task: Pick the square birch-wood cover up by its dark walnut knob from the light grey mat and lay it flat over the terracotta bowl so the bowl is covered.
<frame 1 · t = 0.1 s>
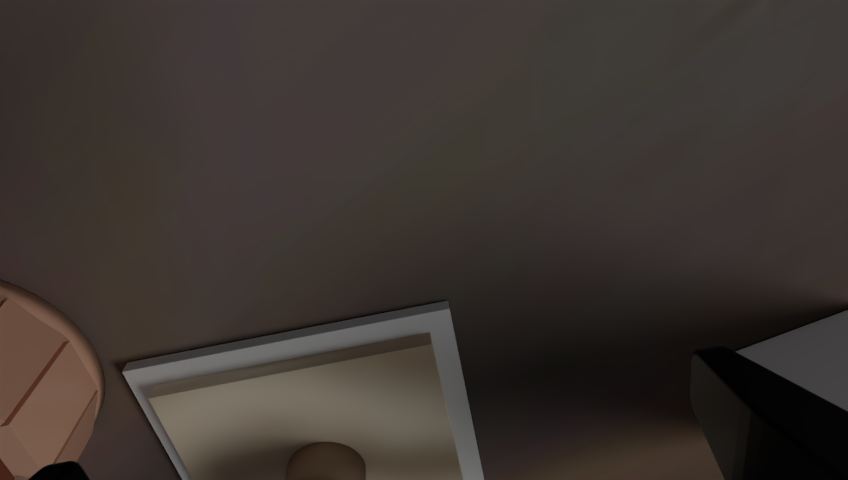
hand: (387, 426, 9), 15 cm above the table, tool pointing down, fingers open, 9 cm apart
mat: (328, 446, 29), on the table
milk: (801, 369, 29), on the table
cover: (327, 456, 28), point 1 cm above the table, touching mat
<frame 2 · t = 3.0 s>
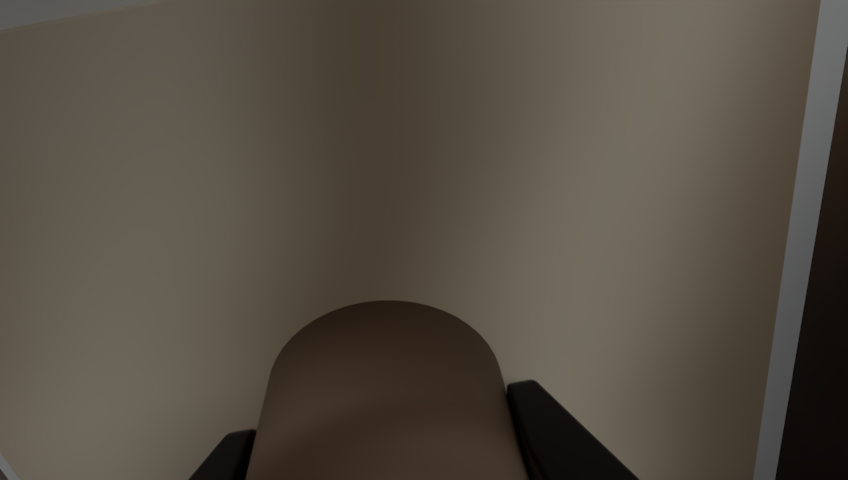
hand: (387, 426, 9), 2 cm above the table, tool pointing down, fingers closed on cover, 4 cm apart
mat: (385, 341, 10), on the table
cover: (386, 363, 10), point 1 cm above the table, touching gripper, mat
when the fingers open (8 cm above the table, at t = 6.4 s): cover drops 2 cm, resting on bowl.
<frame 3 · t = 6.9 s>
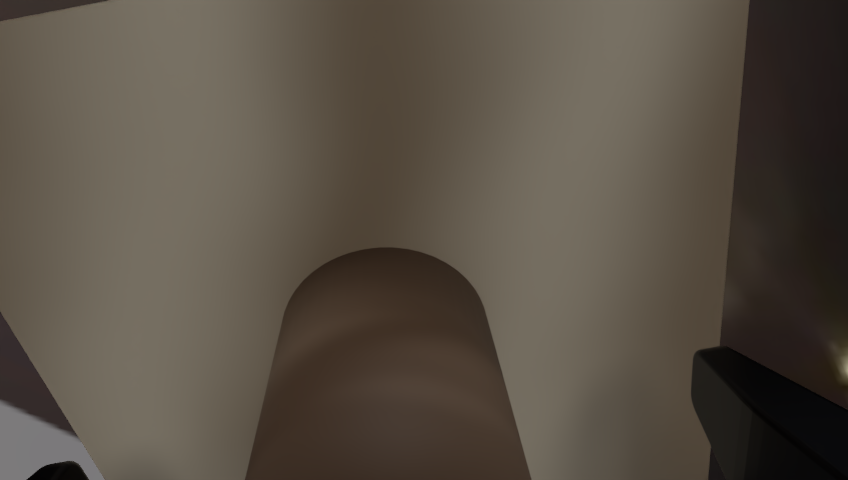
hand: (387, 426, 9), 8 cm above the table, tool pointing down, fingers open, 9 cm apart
cover: (385, 310, 11), point 5 cm above the table, touching bowl
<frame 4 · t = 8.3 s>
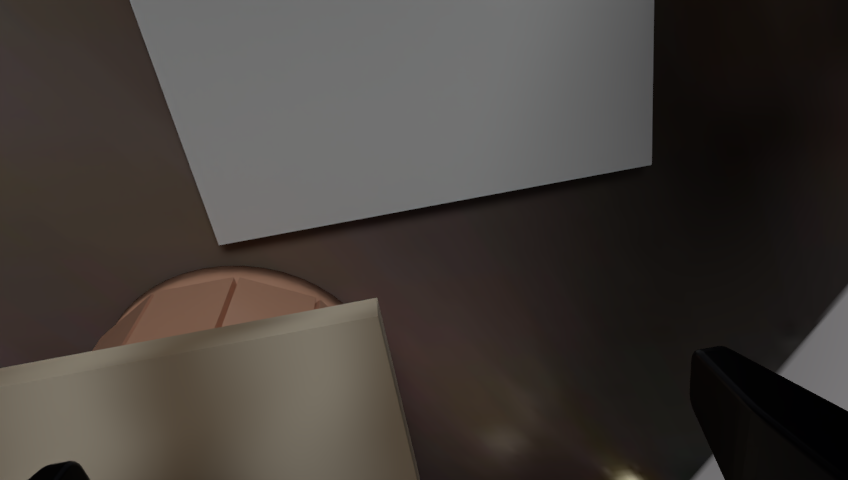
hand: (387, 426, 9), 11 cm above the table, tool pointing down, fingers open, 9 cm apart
bowl: (247, 383, 22), on the table
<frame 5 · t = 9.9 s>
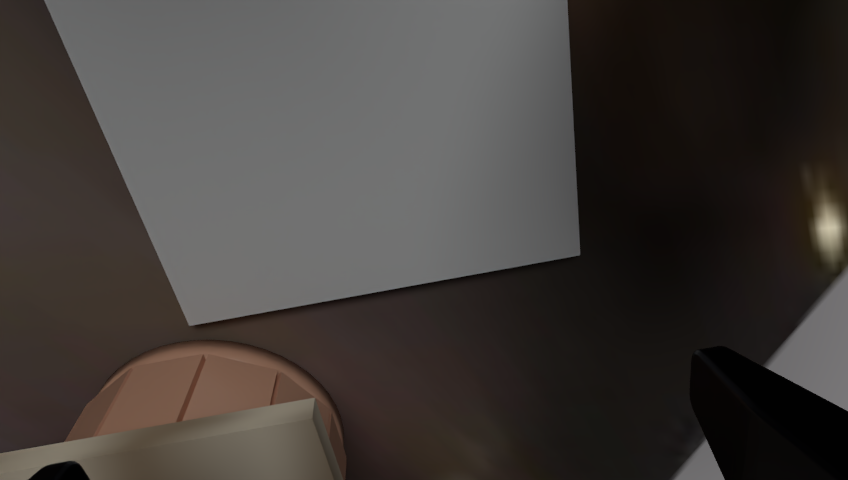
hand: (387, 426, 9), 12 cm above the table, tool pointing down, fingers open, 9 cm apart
bowl: (221, 437, 25), on the table
mat: (337, 91, 18), on the table
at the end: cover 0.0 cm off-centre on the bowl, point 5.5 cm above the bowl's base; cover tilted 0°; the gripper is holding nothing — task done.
